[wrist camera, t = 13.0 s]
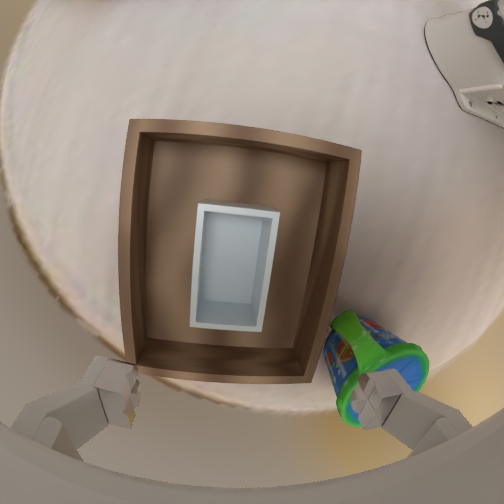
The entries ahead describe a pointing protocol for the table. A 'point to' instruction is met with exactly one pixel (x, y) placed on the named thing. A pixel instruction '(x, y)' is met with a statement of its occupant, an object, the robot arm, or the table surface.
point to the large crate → (183, 237)
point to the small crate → (232, 264)
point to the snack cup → (368, 358)
